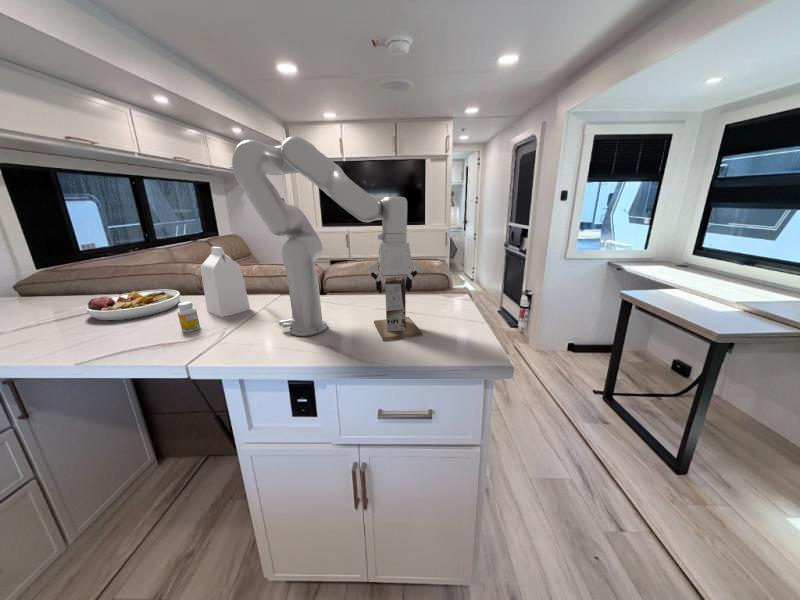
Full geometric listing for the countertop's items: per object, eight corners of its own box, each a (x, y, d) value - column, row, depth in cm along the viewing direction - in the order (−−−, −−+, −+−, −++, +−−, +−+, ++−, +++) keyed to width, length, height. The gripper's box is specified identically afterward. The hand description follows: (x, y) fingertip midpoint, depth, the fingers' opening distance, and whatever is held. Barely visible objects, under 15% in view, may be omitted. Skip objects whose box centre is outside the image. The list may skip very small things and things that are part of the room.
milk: (207, 311, 124) (193, 248, 116) (235, 304, 133) (223, 244, 125) (222, 317, 118) (208, 250, 110) (250, 309, 127) (239, 246, 119)
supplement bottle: (180, 329, 107) (173, 303, 104) (197, 325, 111) (191, 299, 108) (184, 333, 103) (177, 306, 100) (202, 328, 107) (196, 302, 104)
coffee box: (406, 331, 99) (405, 283, 94) (386, 331, 99) (384, 283, 94) (405, 321, 108) (404, 276, 103) (387, 321, 108) (385, 276, 103)
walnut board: (383, 341, 95) (382, 337, 95) (374, 323, 109) (373, 320, 109) (422, 335, 98) (422, 332, 98) (408, 319, 112) (408, 316, 112)
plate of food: (177, 295, 149) (173, 280, 147) (186, 310, 127) (182, 292, 125) (92, 310, 130) (86, 292, 128) (86, 330, 109) (79, 309, 106)
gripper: (369, 240, 89) (369, 296, 94) (424, 239, 93) (422, 292, 98) (364, 237, 96) (365, 289, 101) (417, 236, 100) (415, 286, 105)
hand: (393, 291), depth 100 cm, fingers open, 9 cm apart
